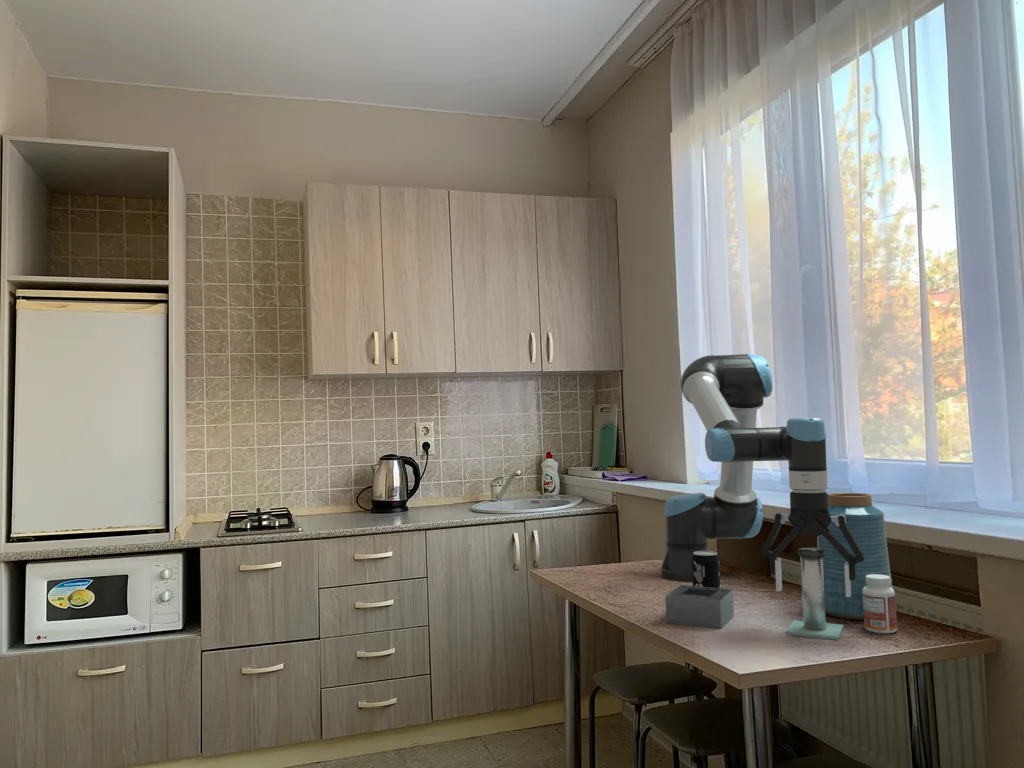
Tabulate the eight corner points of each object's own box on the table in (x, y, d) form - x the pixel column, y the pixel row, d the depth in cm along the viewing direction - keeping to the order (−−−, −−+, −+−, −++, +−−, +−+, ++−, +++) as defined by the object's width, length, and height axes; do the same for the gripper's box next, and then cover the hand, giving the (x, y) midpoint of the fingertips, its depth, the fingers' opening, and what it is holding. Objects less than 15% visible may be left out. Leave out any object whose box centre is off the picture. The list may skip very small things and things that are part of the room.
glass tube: (800, 629, 157) (796, 550, 158) (804, 623, 162) (800, 547, 163) (826, 632, 155) (822, 552, 156) (829, 626, 159) (825, 548, 160)
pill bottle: (887, 625, 161) (884, 572, 162) (903, 633, 155) (900, 578, 156) (858, 626, 161) (855, 573, 161) (874, 634, 155) (871, 579, 155)
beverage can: (721, 605, 182) (719, 555, 183) (693, 605, 184) (691, 554, 184) (720, 599, 189) (718, 550, 190) (692, 598, 190) (691, 550, 191)
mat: (793, 622, 165) (793, 620, 165) (843, 627, 160) (843, 624, 160) (785, 634, 156) (785, 631, 156) (838, 639, 152) (838, 636, 152)
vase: (899, 608, 175) (893, 492, 177) (889, 625, 162) (882, 498, 163) (825, 601, 184) (819, 490, 186) (809, 615, 171) (803, 496, 172)
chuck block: (682, 610, 178) (681, 585, 178) (734, 615, 172) (733, 589, 173) (666, 623, 168) (665, 595, 168) (721, 628, 162) (720, 600, 162)
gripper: (744, 491, 163) (748, 591, 162) (872, 493, 151) (878, 602, 150) (751, 488, 169) (755, 584, 168) (875, 490, 157) (880, 594, 156)
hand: (813, 593), depth 159 cm, fingers open, 13 cm apart
